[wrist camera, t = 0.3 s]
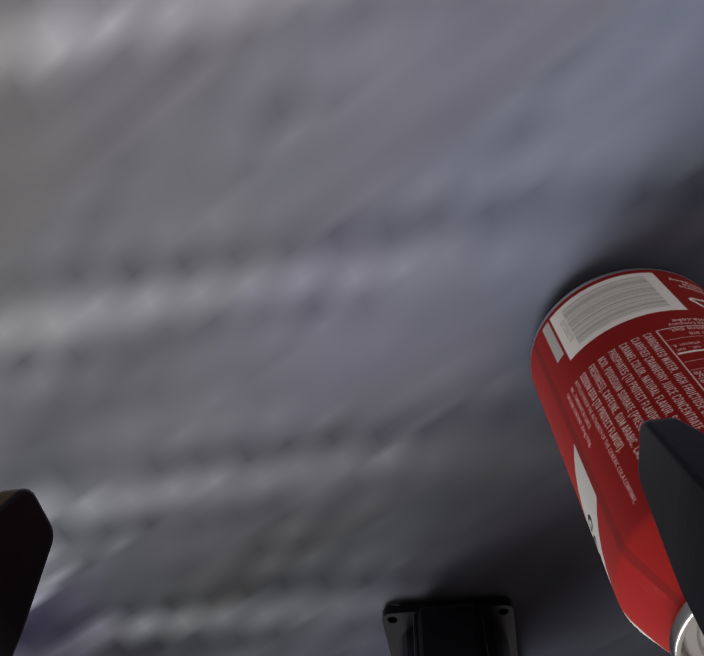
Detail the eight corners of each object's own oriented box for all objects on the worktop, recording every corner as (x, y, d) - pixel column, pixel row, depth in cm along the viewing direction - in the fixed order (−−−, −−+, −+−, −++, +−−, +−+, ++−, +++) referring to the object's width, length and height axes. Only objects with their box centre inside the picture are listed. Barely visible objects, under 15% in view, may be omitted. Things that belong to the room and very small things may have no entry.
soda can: (510, 287, 22) (627, 558, 11) (708, 236, 21) (1046, 488, 10) (541, 430, 25) (655, 748, 14) (715, 393, 24) (981, 712, 13)
